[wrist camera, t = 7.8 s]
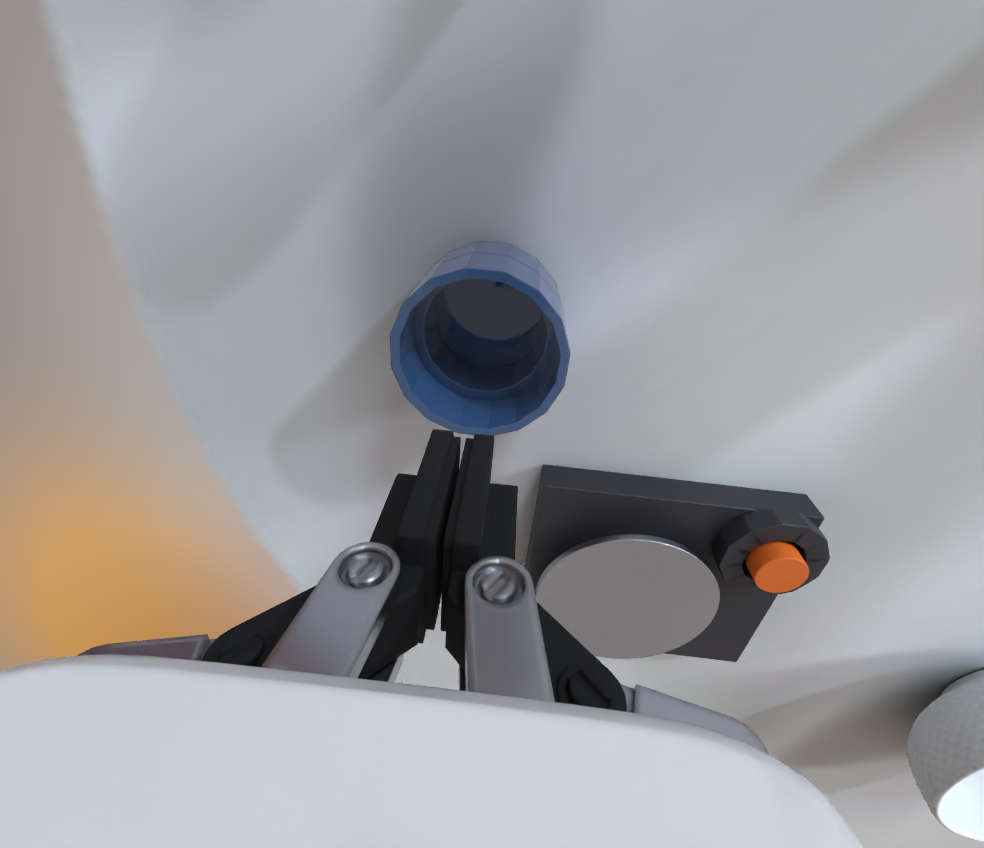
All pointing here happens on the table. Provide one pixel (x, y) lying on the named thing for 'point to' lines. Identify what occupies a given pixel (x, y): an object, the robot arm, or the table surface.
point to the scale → (681, 536)
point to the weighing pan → (630, 595)
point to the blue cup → (482, 340)
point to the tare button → (777, 567)
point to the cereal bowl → (952, 756)
